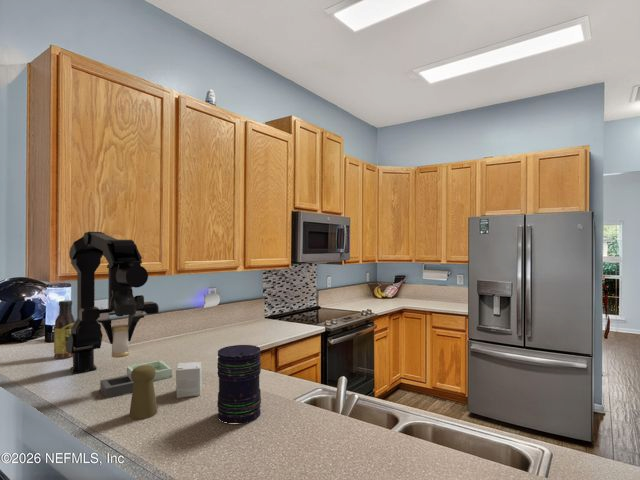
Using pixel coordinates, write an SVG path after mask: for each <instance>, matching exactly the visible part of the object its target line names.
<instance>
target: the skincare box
mask: <svg viewBox="0 0 640 480" xmlns="http://www.w3.org/2000/svg"><path fill="white" fill-rule="evenodd" d="M202 378H203V377H202V361H192V362H181V363H180V362H179V363H178V364H177V368H176V370H175V381H176V382H175V384H176V385H175V386H176V399H179V398H188V397H189V398H190V397H196V396H197V397H198V396H201V393H202V386H203V385H202V384H203V383H202Z"/></svg>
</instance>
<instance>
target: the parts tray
mask: <svg viewBox="0 0 640 480" xmlns="http://www.w3.org/2000/svg"><path fill="white" fill-rule="evenodd" d="M143 365H150V366H153V367H154V369H155V377H154V379H153V382H156V381H160V380H165V379H169V378H172V377H173V368H172V367H171V366H170V365H168V364H166V363H165V361H163V360H161V359H160V360H156V361H150V362H145V363H144V362H143V363H139V364H132V365H129V366H126V375H130V374H131V373H132V371H133V369H134V368H136V367H139V366H143Z"/></svg>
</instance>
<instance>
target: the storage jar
mask: <svg viewBox="0 0 640 480" xmlns="http://www.w3.org/2000/svg"><path fill="white" fill-rule="evenodd" d="M261 366H262V360H261V348H260V347H259V346H257V345H252V344H236V345H235V344H234V345H230V346H224V347H222V348H220V349H218V350H217V377H218V393H217V405H216V406H217V411H218V413H217V419H218V418H219V419H220V420H221V421H223V422H227V423H246V424H248V423H247V422H250V423H252V422H255V421H257V418H258V417H259V416H261V412H262V411H261V407H262V406H261V405H262V397H261V395H262V394H261V388H260V375H261V371H262V370H261V369H262V368H261ZM259 418H260V417H259ZM259 418H258V419H259ZM219 419H218V420H219ZM251 421H252V422H251Z"/></svg>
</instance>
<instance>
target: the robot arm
mask: <svg viewBox="0 0 640 480" xmlns="http://www.w3.org/2000/svg"><path fill="white" fill-rule="evenodd" d="M138 249H139V248H138V247H137V244H136V243H135V241H134V240H133V239H117V238H115V237H113V236H110V235H108V234H106V233H105V232H102V231H86V232H84V233H83V236H81V237H80V238H78V239H76V240H75V241H73V243H72V245H71V246H70V249H69V252H68V255H69V259H70V261H71V262H70V263H71V266H72V268H73V269H74V270H75V272H76V273H77V276H76V278H77V281H76V282H77V283H76V284H77V287H76V289H77V291H76V293H77V294H76V295H77V296H76V298H77V299H76V300H77V302H76V303H77V304H76V305H77V306H76V307H77V308H76V309H77V310H76V311H77V315H76V317H77V318H76V319H75V323H74V324H73V326H72V327H71V334H70V335H69V338H68V340H67V343H66V352H68V353H70V354H73V356H72V366H71V367H70V369H69V370H70V371H71V373H72V374H79V373H83V372H84V373H85V372H89V371H95V370H97V369H98V367H97V366H96V364H95V350H98V349H101V346H102V342H103V331H102V327H103V329H104V331H105V334H106V336H107V338H108V340H109V343H110V345H112V344H113V336H112V319H111V318H110V316H113V315H114V316H116V317H124V316H128V318H127V321H128V322H127V325H129V329H128V333H129V342H131V340H132V338H133V334H134V331H135V328H136V327H137V324H138V322H139V321H141V319H142V318H143V319H144V318H145V315H144V313H145V314H146V315H155V314H158V313H159V311H160V310H159V308H160V307H159V304H157V303H156V302H155V301H145V296H144V295H141V294H140V295H135V296H134V293H133V292H134V291H133V288H141V287H143V286H144V285H145V284H146V283H147V281H148V279H149V273H148V271H147V269H146V268H145V267H144V266H141V264H142V263H143V261H142V258H143V257H142V256H141V253H140V251H139V250H138ZM103 257H104V258H105V260H106V261H107V263H108V264H107V265H106V268H107V269H108V273H107V274H108V277H107V278H108V286H107V287H108V290H107V291H108V293H107V294H108V297H107V298H108V304H107V305H108V308H102V309H101V308H99V307H98V306H96V305H95V296H96V295H95V294H96V293H95V290H96V289H95V287H96V286H95V278H96V276H95V274H96V271H97V269H98V268H99V267H100V265H101V263H102V262H101V260H102V258H103ZM74 347H75V348H74Z"/></svg>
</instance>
